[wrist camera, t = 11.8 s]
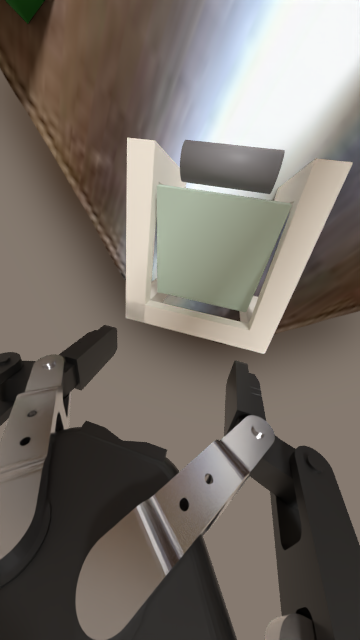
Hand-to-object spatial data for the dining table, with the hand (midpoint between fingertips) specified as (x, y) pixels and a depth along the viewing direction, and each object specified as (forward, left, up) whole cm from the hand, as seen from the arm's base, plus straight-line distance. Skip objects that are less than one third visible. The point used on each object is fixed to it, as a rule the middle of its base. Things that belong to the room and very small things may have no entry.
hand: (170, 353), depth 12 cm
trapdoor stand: (0, -4, -29) cm, 29 cm away
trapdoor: (0, -7, -20) cm, 21 cm away
